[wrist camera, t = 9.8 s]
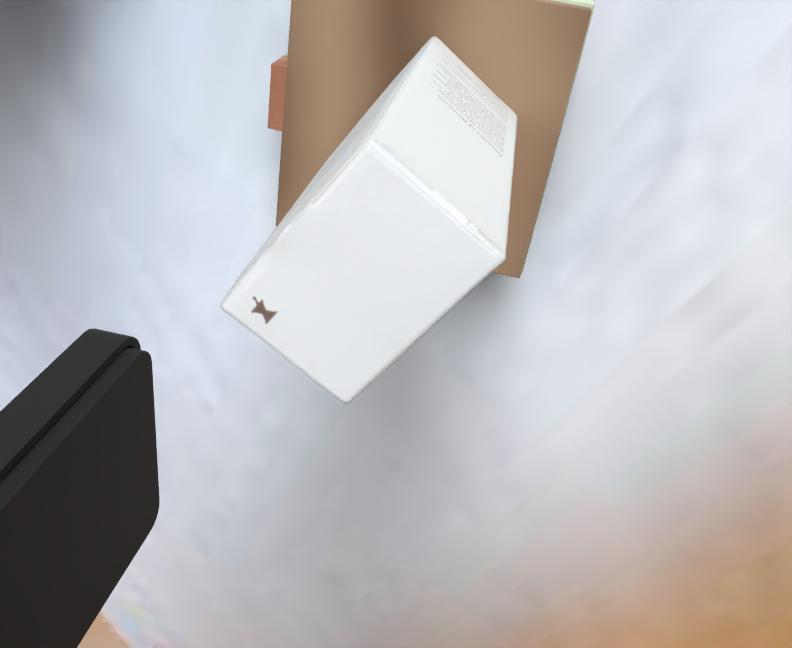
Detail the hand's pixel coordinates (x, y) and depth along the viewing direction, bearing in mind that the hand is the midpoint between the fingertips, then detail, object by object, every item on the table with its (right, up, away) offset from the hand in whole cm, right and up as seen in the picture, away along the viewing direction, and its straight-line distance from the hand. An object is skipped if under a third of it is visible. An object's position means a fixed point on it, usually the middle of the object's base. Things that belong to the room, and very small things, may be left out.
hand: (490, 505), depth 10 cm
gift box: (0, +12, +22) cm, 25 cm away
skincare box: (0, +9, +18) cm, 20 cm away
